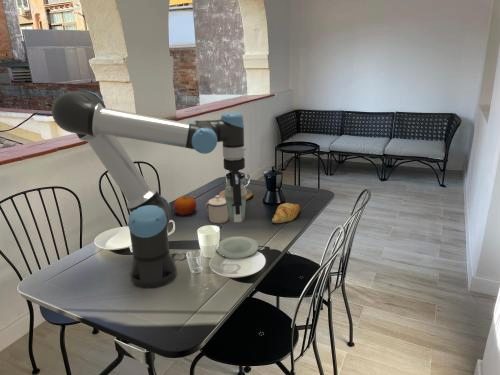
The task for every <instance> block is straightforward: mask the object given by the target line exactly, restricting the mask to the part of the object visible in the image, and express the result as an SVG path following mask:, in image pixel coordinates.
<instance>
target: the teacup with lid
mask: <svg viewBox="0 0 500 375" xmlns="http://www.w3.org/2000/svg"><path fill="white" fill-rule="evenodd" d="M205 209H206V211H207V212H208V219H209V221H210V222H211V223H213V224H222V223H225V222H227V221H228V220H229V217H228V211H227V205H226V199H225V197H221V196H220V195H219V194H218V195H215V196H214V197H213V198H210V199H209V200H208V201H207V202H206V203H205Z"/></svg>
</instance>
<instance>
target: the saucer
mask: <svg viewBox="0 0 500 375" xmlns="http://www.w3.org/2000/svg"><path fill="white" fill-rule="evenodd" d="M218 243H219V247H218V249H217V250H216V252H217V253H218V254H219V253H221V254H222V255H224V256H226V257H225V258H228V257H229V258H230V259H241V258H242V259H243V258H247V257H251V256H252V255H255V254H256V253H257V252H258V249H259V243H258V242H257V241H256V240H255V239H253V238H250V237H246V236H240V235H239V236H230V237H229V236H228V237H226V238H224V239H222V240H219V241H218ZM222 255H221V256H222ZM224 256H223V257H224Z"/></svg>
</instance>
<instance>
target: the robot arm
mask: <svg viewBox="0 0 500 375" xmlns="http://www.w3.org/2000/svg"><path fill="white" fill-rule="evenodd" d="M51 107H52V108H51V113H52V114H51V115H52V116H51V117H52V118H53V120H54V122H55V123H56V125H57V126H58V127H59V128H60V129H62V130H63V131H66V132H68V133H71V134H75V135H76V136H77V137H78V139H79V140H81V141H85V142H87V143H88V144H89V146H90V148H92V150H93V153H95V155H96V156H97V157H98V159H99V160H100V161H101V164H102V165H103V166H104V168H105V169H106V171H107V172H108V174H109V175H110V176H111V177H112V180H113V181H114V182H115V183H116V185H117V186H118V188H119V189H120V191H121V193H123V195H124V197H125V198H126V200H127V201H128V202H127V209H128V211H129V212H130V214H129V215H128V222H127V224H128V230H129V235H130V242H131V248H132V255H133V256H132V257H133V259H132V264H131V268H130V272H129V274H130V282H131V283H132V285H134V286H136V287H138V288H140V289H141V288H142V289H154V288H159V287H163V286H165V285H168V284H170V282H171V283H172V281H173V280H174V279H175V278H176V276H177V275H178V271H177V264H176V262H175V261H174V259H173V257H172V255H171V253H170V246H169V245H170V244H169V235H168V233H169V231H168V230H169V224H170V222H171V221H170V219H171V215H172V209H171V205H170V203H169V201H168V200H167V199H166V198H165V197H164V196H162V195H161V194H160V193H159V192H158V190H157V189H156V188H153V187H150V186H149V184H148V183H147V181H146V180H145V178H144V176H143V175H142V173H141V172H140V171H139V169H138V168H137V166H136V164H135V163H134V161H133V160H132V159H131V157H130V156H129V154H128V152H127V151H126V150H125V148H124V146H123V144H122V143H121V142H120V141H121V140H119V138H118V137H120V138H125V139H132V140H137V141H144V142H149V143H154V144H155V143H156V144H162V145H167V146H174V147H180V148H185V149H190V150H195V151H196V152H198V153H199V154H203V155H206V154H210V153H212V152H213V151H214V150H215V148H216V147H217V144H218V143H221V142H222V157H223V169H224V170H226V171H229V172H228V178H229V180H228V181H229V186H231V187H232V188H233V200H234V204H233V205H232V206H233V211H234V223H242V221H243V220H242V219H241V206H242V203H241V186H242V185H241V184H242V182H241V181H242V179H241V178H242V175H241V172H240V170H244V169H245V167H246V160H245V151H246V150H247V148H246V147H245V129H244V128H245V126H244V116H243V115H242V113H240V112H223V113H222V114H221V116H220V118H219V119H213V120H212V119H211V120H207V119H206V120H191V121H187V122H183V121H178V120H173V119H166V118H160V117H156V116H150V115H145V114H139V113H134V112H128V111H123V110H117V109H112V108H107V107H106V105H105V102H104V101H103V99H102V98H101V97H100V96H99V95H98V94H97V93H95V92H93V91H89V90H85V89H78V90H75V91H72V92H66V93H63V94H61V95H60V96H58V97H57V98H56V99H55V100H54V102H53V104H52V106H51Z"/></svg>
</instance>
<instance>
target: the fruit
mask: <svg viewBox="0 0 500 375" xmlns="http://www.w3.org/2000/svg"><path fill="white" fill-rule="evenodd" d="M173 208H174V210H175V212H176V213H178V214H179V215H182V216H185V215H190V214H192V213H194V212H195V211H196V209H197V201H196V199H195V198H193V197H192V196H189V195H183V196H180V197H178V198H176V199H175V201H174V204H173Z"/></svg>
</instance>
